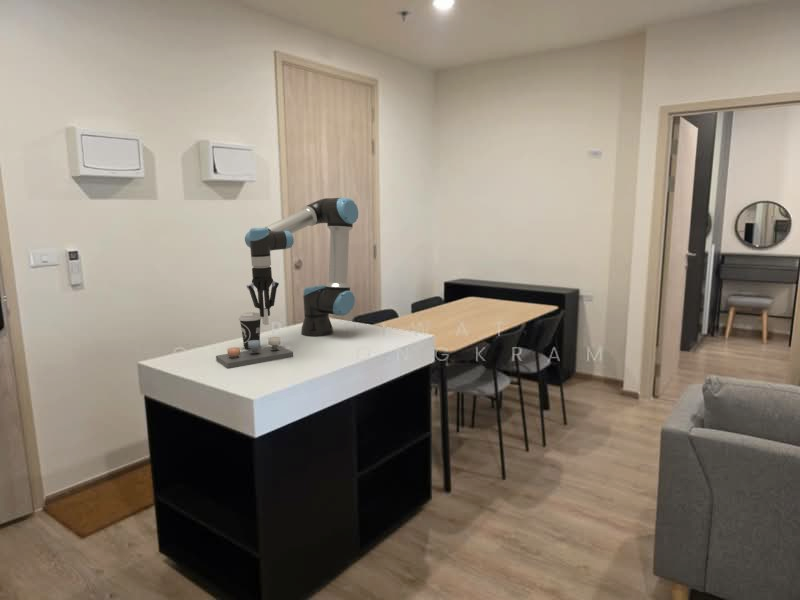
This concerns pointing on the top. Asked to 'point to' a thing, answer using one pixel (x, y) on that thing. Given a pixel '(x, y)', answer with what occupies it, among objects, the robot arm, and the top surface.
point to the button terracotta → (233, 352)
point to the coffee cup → (250, 327)
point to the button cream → (274, 342)
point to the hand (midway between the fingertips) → (265, 324)
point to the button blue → (254, 345)
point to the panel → (254, 356)
